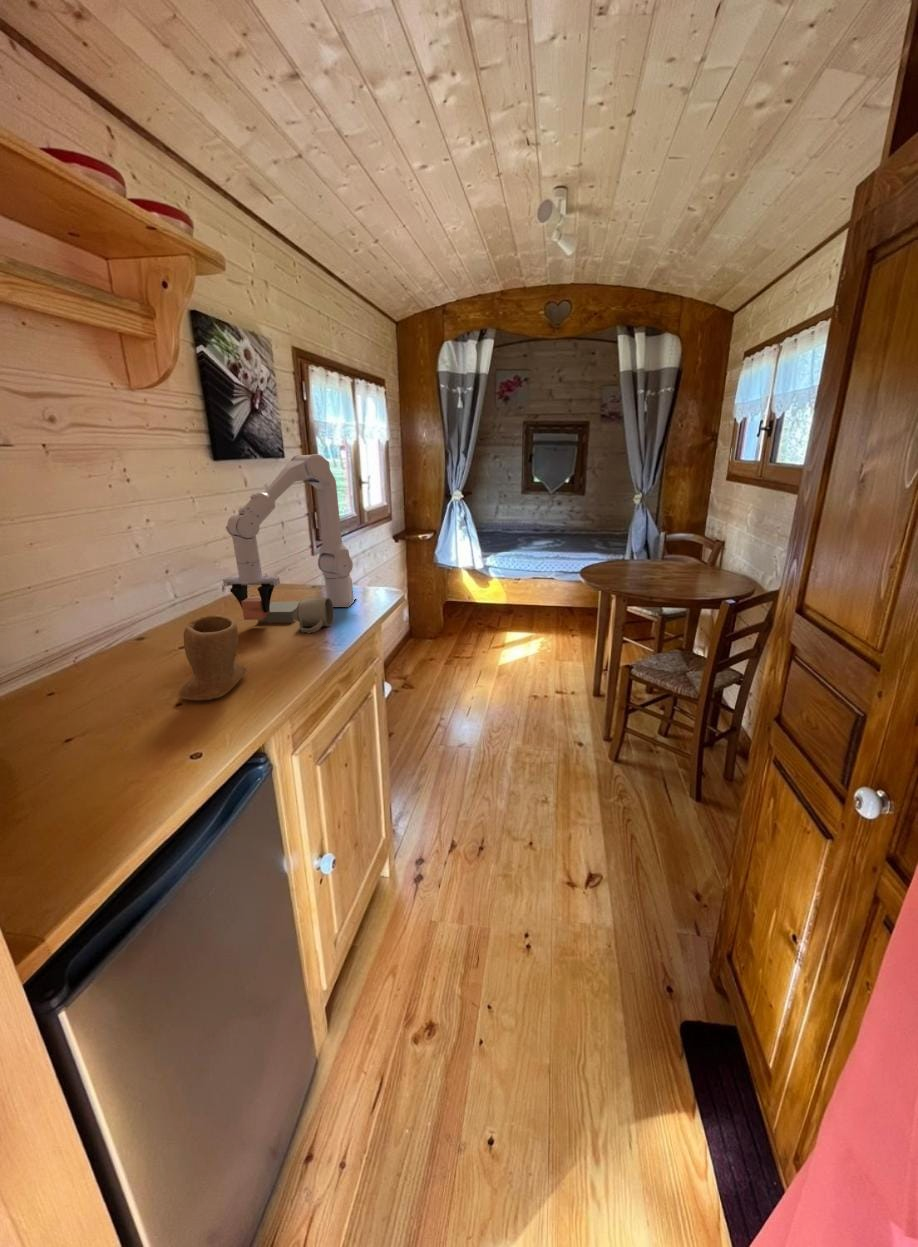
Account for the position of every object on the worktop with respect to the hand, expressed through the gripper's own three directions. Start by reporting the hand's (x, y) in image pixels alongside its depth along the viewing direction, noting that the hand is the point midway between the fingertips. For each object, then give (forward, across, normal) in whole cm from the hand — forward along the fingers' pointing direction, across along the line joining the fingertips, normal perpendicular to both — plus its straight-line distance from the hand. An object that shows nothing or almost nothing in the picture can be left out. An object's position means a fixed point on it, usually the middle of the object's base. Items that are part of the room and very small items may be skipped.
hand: (256, 611), depth 145 cm
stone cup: (+5, +9, -38) cm, 39 cm away
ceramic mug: (+5, +16, 0) cm, 17 cm away
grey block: (+5, +3, +9) cm, 11 cm away
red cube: (+2, 0, 0) cm, 2 cm away
